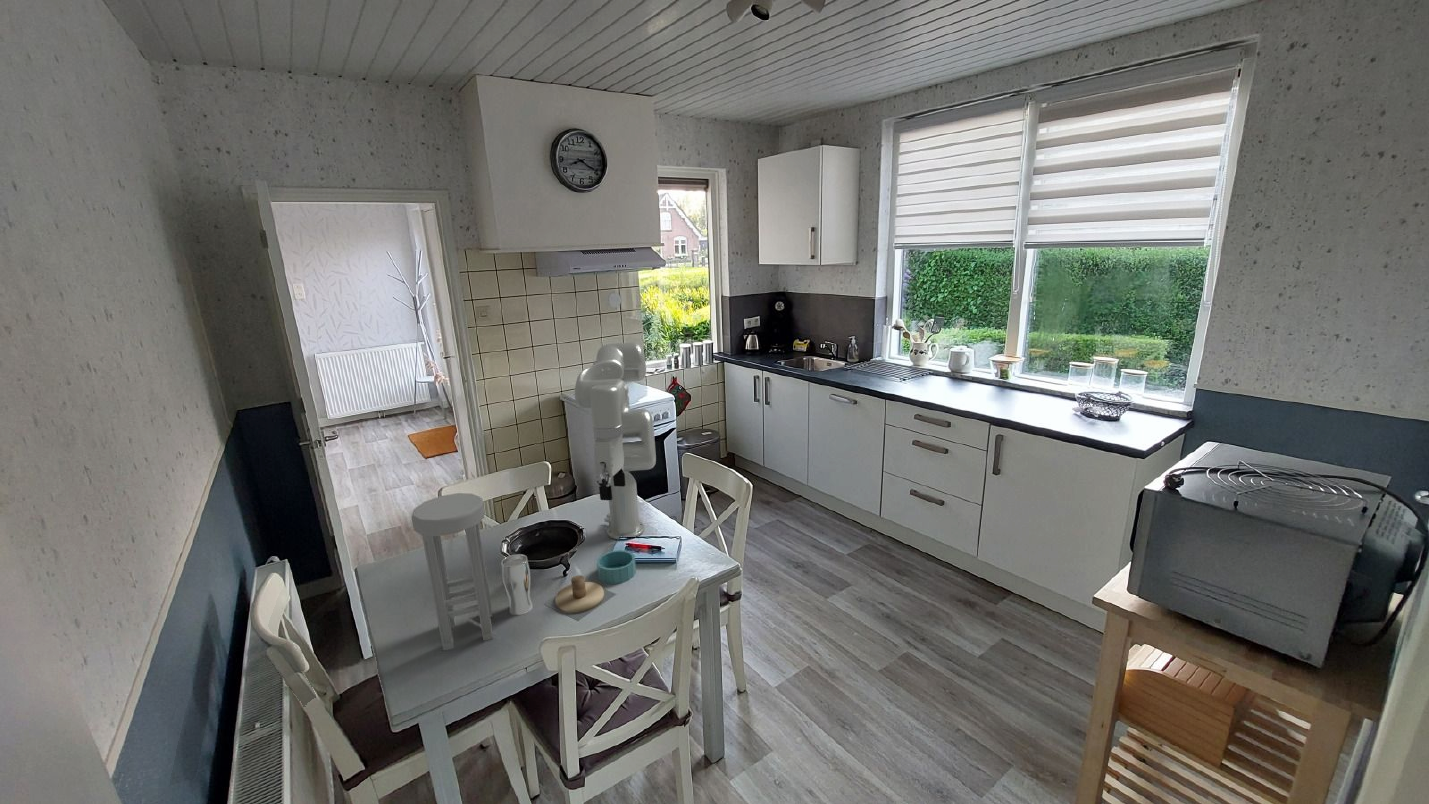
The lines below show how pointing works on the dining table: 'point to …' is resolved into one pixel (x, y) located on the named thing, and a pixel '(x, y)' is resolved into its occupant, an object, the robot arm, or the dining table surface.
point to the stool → (431, 524)
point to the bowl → (616, 566)
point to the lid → (579, 596)
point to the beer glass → (517, 583)
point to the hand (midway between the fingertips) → (613, 492)
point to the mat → (578, 616)
